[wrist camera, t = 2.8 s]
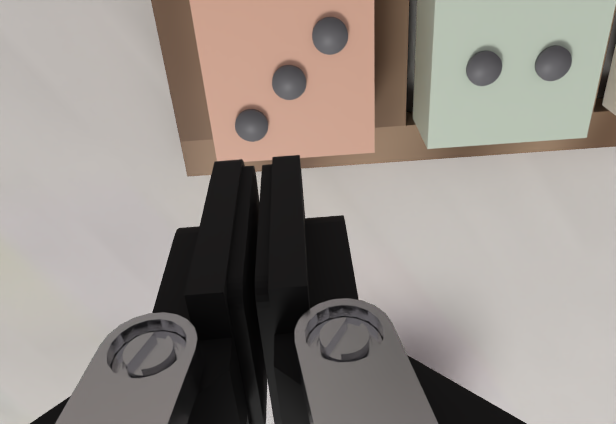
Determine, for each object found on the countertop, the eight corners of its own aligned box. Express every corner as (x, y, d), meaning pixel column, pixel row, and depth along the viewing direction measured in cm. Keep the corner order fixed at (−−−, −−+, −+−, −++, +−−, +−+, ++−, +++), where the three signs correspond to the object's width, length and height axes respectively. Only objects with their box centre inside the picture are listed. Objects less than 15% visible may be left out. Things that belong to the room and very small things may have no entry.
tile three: (364, -31, 20) (374, -15, 18) (365, 121, 23) (375, 155, 21) (201, -18, 20) (187, -1, 18) (225, 132, 24) (216, 166, 21)
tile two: (582, -47, 20) (627, -34, 17) (554, 108, 23) (589, 139, 21) (418, -35, 20) (437, -20, 18) (412, 118, 23) (428, 151, 21)
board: (848, -133, 20) (886, -133, 19) (750, 121, 25) (774, 135, 24) (145, -78, 21) (135, -75, 19) (192, 161, 26) (187, 176, 25)
